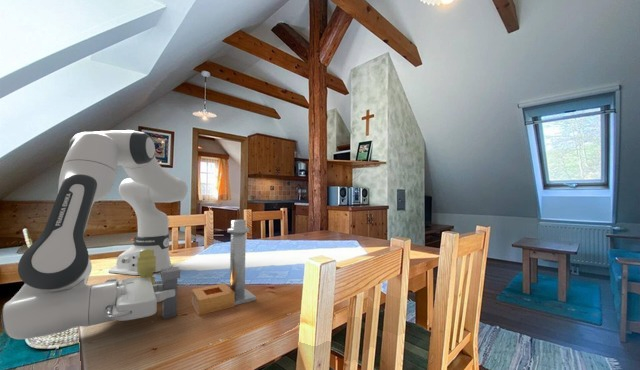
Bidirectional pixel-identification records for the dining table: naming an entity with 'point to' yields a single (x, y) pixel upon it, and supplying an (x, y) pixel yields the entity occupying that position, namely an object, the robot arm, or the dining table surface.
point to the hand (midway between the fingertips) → (173, 289)
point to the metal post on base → (236, 294)
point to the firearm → (147, 264)
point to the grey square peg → (169, 282)
